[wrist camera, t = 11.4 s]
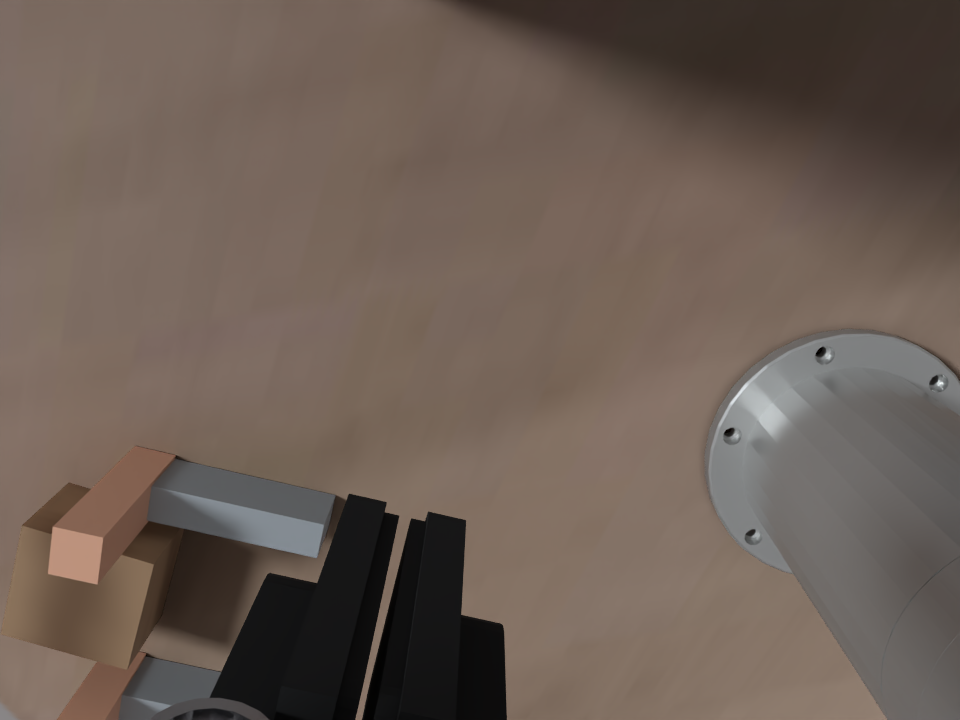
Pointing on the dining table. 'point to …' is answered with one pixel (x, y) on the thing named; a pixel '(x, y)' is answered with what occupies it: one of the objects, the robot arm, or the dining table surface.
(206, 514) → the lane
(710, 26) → the dining table surface
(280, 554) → the dining table surface
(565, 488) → the dining table surface
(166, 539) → the walnut block
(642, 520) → the dining table surface
